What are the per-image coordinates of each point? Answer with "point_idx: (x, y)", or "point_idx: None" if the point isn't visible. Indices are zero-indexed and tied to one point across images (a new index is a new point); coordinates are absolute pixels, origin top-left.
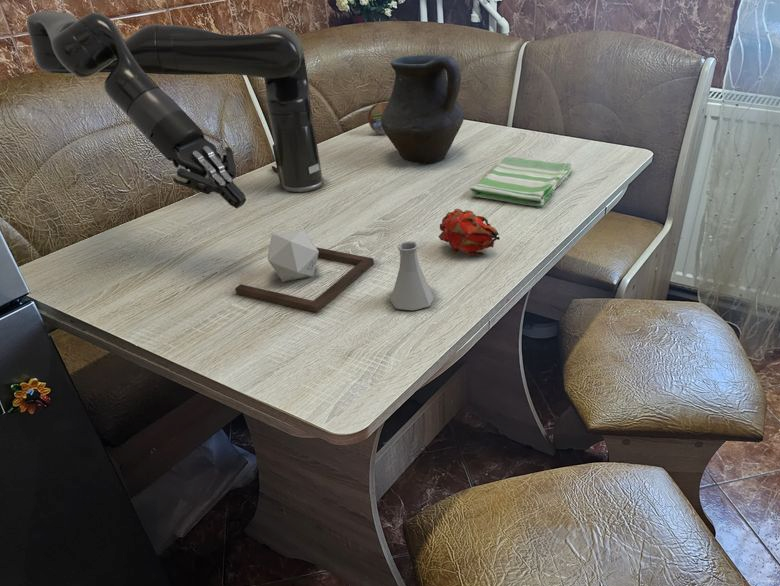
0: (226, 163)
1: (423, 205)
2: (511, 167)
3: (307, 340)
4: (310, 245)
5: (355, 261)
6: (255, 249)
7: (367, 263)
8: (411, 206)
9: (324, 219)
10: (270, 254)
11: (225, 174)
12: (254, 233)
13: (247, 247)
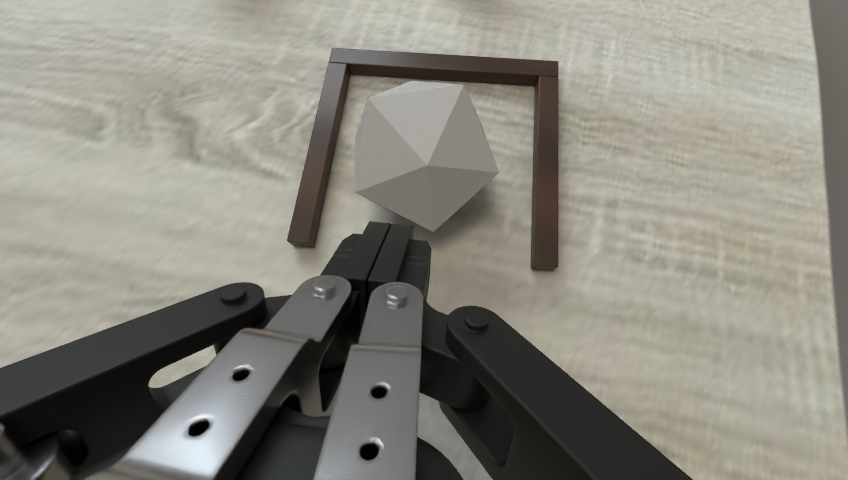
0: (130, 389)
1: (15, 76)
2: None
3: (641, 47)
4: (413, 84)
5: (345, 82)
6: None
7: (356, 49)
8: (19, 98)
9: (95, 276)
10: (485, 164)
11: (303, 314)
12: None
13: None
